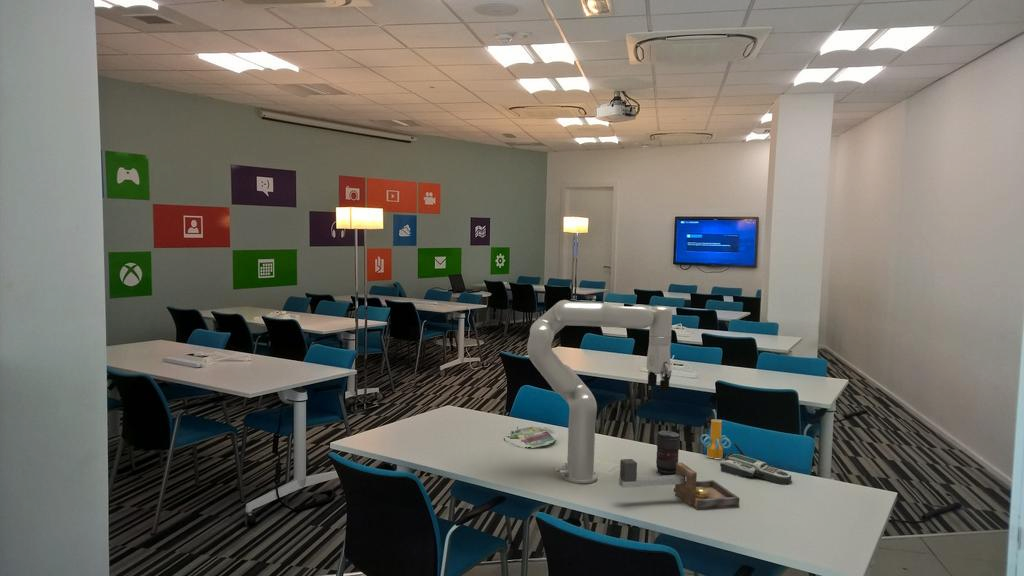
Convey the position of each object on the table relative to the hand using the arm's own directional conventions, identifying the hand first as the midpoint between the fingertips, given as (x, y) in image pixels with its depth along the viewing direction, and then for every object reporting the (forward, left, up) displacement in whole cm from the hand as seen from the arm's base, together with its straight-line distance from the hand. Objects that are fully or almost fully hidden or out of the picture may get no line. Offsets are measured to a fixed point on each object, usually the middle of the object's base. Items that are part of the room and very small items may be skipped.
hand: (658, 388), depth 226 cm
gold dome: (+8, -19, -30) cm, 36 cm away
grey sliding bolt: (-10, -19, -27) cm, 35 cm away
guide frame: (+9, -19, -33) cm, 39 cm away
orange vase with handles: (+36, +20, -34) cm, 53 cm away
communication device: (+40, -1, -34) cm, 53 cm away
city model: (-33, +52, -34) cm, 70 cm away
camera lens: (+8, +6, -34) cm, 35 cm away
